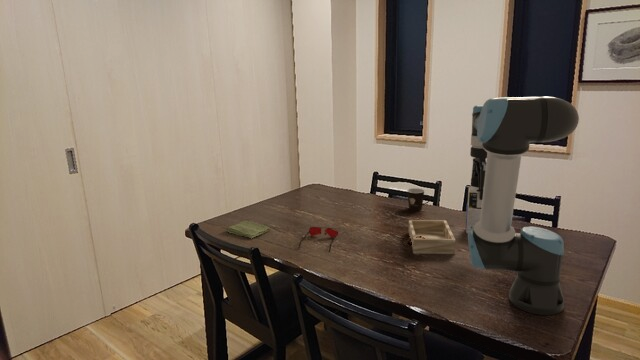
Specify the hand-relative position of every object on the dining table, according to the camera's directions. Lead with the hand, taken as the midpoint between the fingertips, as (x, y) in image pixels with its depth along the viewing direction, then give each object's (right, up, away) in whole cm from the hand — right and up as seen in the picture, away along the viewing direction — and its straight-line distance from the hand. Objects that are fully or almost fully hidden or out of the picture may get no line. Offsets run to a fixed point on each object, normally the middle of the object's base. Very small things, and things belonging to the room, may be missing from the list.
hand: (477, 203), depth 166 cm
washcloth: (-95, -15, +32) cm, 102 cm away
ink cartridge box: (+8, -14, +22) cm, 27 cm away
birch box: (-16, -17, +12) cm, 26 cm away
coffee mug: (-12, -6, +52) cm, 54 cm away
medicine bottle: (0, -1, 0) cm, 1 cm away
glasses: (-62, -18, +16) cm, 67 cm away
